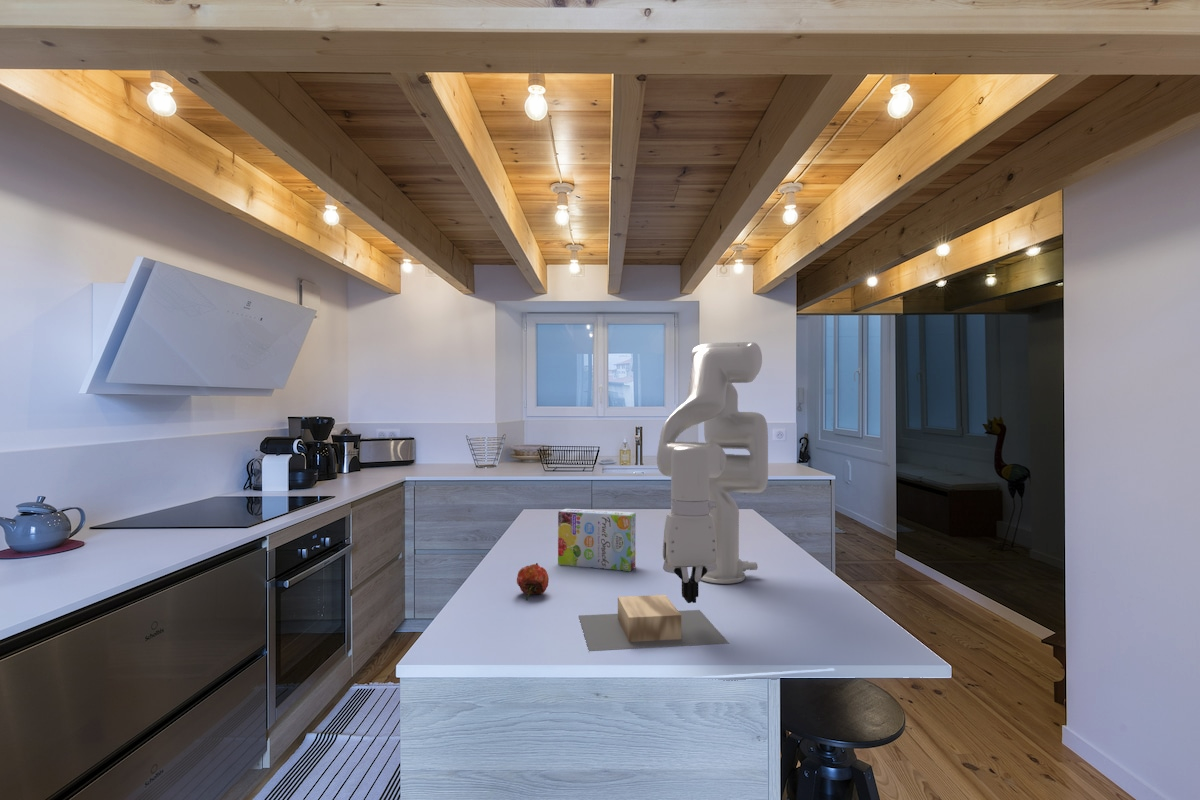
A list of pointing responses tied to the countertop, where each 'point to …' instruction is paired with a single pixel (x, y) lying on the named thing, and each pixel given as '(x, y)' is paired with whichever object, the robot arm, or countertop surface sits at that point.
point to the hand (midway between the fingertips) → (690, 600)
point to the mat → (610, 636)
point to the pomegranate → (532, 579)
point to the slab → (649, 618)
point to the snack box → (597, 539)
